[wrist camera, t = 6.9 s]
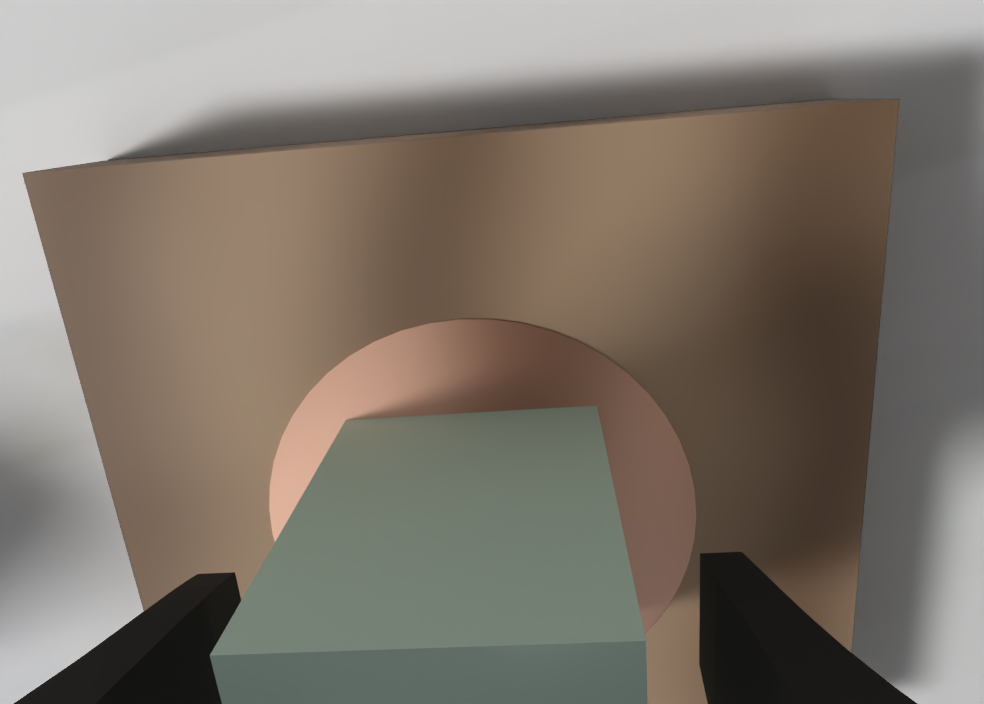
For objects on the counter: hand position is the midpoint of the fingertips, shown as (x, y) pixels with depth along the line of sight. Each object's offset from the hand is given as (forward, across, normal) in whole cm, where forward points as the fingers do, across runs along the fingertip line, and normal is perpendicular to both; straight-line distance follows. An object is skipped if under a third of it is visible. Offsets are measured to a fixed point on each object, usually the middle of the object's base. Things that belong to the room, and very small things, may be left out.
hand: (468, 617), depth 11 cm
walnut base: (+5, 0, 0) cm, 5 cm away
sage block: (+3, 0, 0) cm, 3 cm away
